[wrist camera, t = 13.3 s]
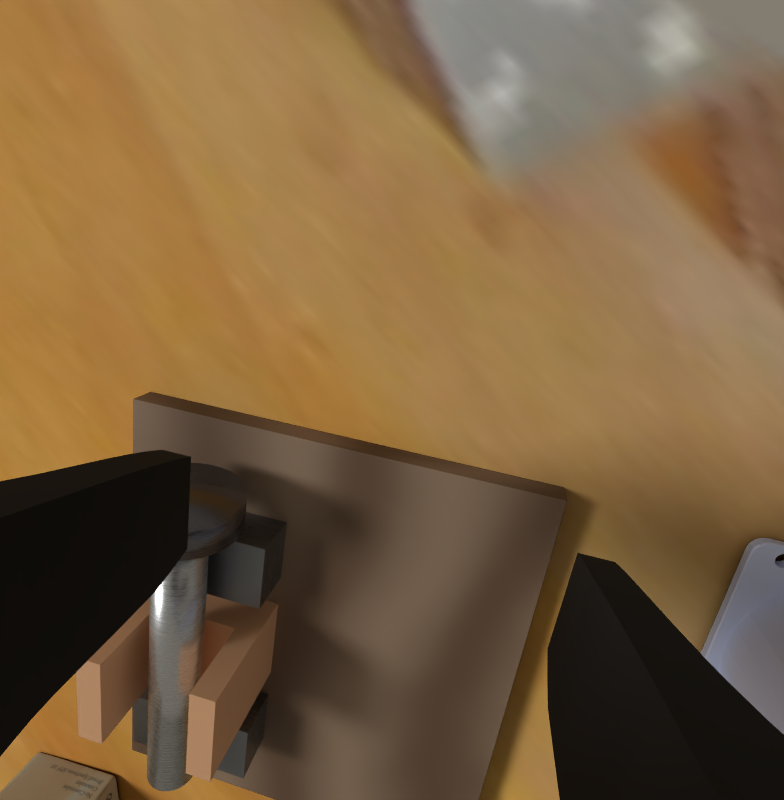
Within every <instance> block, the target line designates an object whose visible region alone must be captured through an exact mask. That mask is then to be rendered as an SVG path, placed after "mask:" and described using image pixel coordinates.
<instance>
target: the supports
mask: <svg viewBox="0 0 784 800" xmlns="http://www.w3.org/2000/svg"><path fill="white" fill-rule="evenodd" d="M286 526H287V522H284V521H280V520H276V519H273V518H269V517H265V516H261V515H257V514H253V513H250V512H246V518H245V527H244V530H243V532H242V534H241V536H240V537H239V538H238V539H237V540H236V541H235V542H234V543H233V544H231V545H230V546H229V547H227V548H225V549H224V550H222V551H220V552H217V553H215V554H212V555H209V560H208V577H207V594H209V595H213V596H216V597H220V598H223V599H227V600H230V601H233V602H237V603H240V604H244V605H247V606H251V607H254V608H258V609H260V608H261V606H262V605H263V603H264V602H265V600H266V599H267V597H268V596H269V594H270V593H271V591H272V590H273V588H274V587H275V586H276V584H277V583H278V581H279V580H280V578H281V573H282V563H283V554H284V545H285V536H286ZM267 702H268V694H266V693H262V692H259V694H258V696H257V698H256V700H255V702H254V703H253V705H252V707H251V709H250V711H249V712H248V714H247V716H246V718H245V720H244V721H243V723H242V725H241V727H240V729H239V731H238V732H237V734H236V736H235V738H234V740H233V741H232V743H231V745H230V747H229V749H228V750H227V752H226V754H225V756H224V758H223V759H222V761H221V763H220V765H219V767H218V769H217V770H220V771H223V772H226V773H229V774H232V775H234V776H237V777H240V778H244V776H245V774H246V772H247V770H248V768H249V766H250V764H251V762H252V760H253V758H254V756H255V754H256V752H257V750H258V748H259V746H260V744H261V742H262V740H263V738H264V730H265V720H266V711H267ZM134 741H136V742H139V743H141V744H144V745H147V743H148V688H147V689H146V690H145V691H144V693H143V694H142V695H141V696H140V697H139V699H138V700H137V701H136V702H135V704H134Z"/></svg>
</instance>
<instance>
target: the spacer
mask: <svg viewBox="0 0 784 800" xmlns="http://www.w3.org/2000/svg"><path fill="white" fill-rule="evenodd" d="M149 610H150V598H149V599H148V600H147V601H146V602H145V603H144V604H143V605H142V606H141V607H140V608H139V609H138V610H137V611H136V612H135V613H134V614H133V615H132V616H131V617H130V618H129V619H128V620H127V621H126V622H125V624H124V625H123V626H122V627H121V628H120V629H119V630H118V631H117V632H116V633H115V634H114V635H113V636H112V637H111V638H110V639H109V640H108V641H107V642H106V643H105V644H104V645H103V646H102V647H101V648H100V649H99V650H98V651H97V652H96V653H95V654H94V655H93V656H92V657H91V658H90V659H89V660H88V661H87V662H86V663H85V664H84V665H83V666H82V667H81V668H80V669H79V670H78V671H77V672H76V679H77V703H78V727H79V736H80V737H83V738H86V739H89V740H92V741H95V742H97V743H100V744H102V743H103V742H104V741H105V739H106V738H107V737H108V736H109V734H110V733H111V732H112V731H113V729H114V728H115V727H116V726H117V725H118V723H119V722H120V721H121V720H122V718H123V717H124V716H125V715H126V713H127V712H128V711H129V710H130V709H131V707H132V706H133V705H134V704H135V702H136V701H137V700H138V699H139V697H140V696H141V695H142V694H143V693H144V691H145V690H146V689H147V688H148V676H149ZM277 610H278V604H277V603H274V602H270V601H267V600H265V602H264V603H263V605H262V606H261V608H260V609H258V608H254V607H251V606H247V605H244V604H240V603H237V602H233V601H230V600H227V599H223V598H220V597H216V596H213V595H209V594H207V595H206V613H205V631H204V649H203V667H202V677H201V678H200V679H199V681H198V682H197V684H196V685H195V686H194V688H193V689H192V691H191V692H190V694H189V713H188V735H187V757H186V773H187V774H189V775H192V776H195V777H198V778H201V779H204V780H207V781H211V779H212V778H213V776H214V774H215V772H216V770H217V769H218V767H219V765H220V763H221V761H222V759H223V758H224V756H225V754H226V752H227V750H228V749H229V747H230V745H231V743H232V741H233V740H234V738H235V736H236V734H237V732H238V731H239V729H240V727H241V725H242V723H243V721H244V720H245V718H246V716H247V714H248V712H249V711H250V709H251V707H252V705H253V703H254V702H255V700H256V698H257V696H258V694H259V692H260V691H261V689H262V687H263V685H264V683H265V682H266V680H267V678H268V676H269V674H270V673H271V666H272V657H273V648H274V638H275V629H276V620H277Z"/></svg>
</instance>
